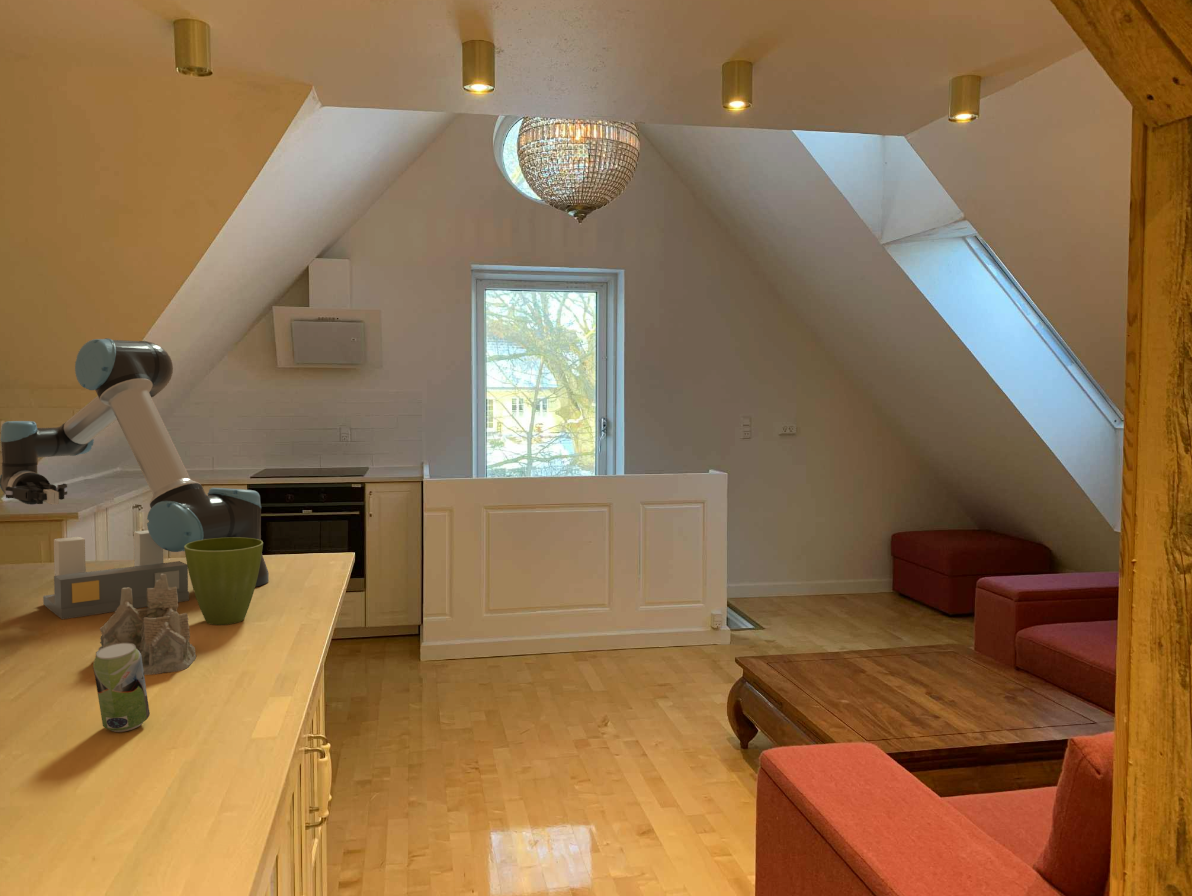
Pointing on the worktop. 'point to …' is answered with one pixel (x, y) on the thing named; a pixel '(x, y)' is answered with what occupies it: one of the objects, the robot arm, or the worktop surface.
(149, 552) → the key
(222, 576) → the flower pot
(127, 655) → the beverage can
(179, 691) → the worktop surface
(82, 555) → the key
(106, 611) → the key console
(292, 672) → the worktop surface
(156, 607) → the ceramic cottage
